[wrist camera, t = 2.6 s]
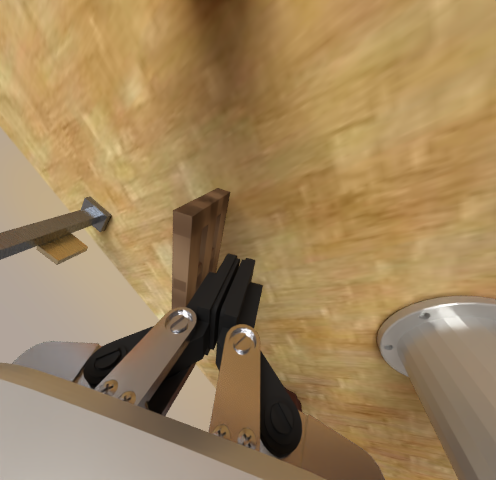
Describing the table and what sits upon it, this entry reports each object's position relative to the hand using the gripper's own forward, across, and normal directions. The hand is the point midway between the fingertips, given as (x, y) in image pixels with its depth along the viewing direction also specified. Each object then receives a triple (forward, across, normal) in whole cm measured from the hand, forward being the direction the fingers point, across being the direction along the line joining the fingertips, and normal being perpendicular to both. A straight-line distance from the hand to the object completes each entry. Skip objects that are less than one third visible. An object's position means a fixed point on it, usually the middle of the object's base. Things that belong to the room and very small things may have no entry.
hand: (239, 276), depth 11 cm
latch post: (+9, +21, +4) cm, 23 cm away
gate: (+7, +4, +5) cm, 10 cm away
